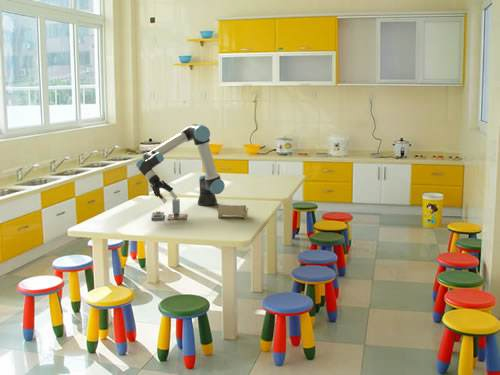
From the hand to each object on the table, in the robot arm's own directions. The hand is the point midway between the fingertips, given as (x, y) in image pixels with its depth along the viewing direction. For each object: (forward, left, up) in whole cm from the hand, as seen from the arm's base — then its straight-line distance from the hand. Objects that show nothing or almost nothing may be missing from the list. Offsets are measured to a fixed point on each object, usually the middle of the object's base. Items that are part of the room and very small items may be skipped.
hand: (171, 200), depth 456 cm
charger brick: (-3, +1, -11) cm, 12 cm away
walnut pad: (-4, +2, -13) cm, 13 cm away
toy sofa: (-43, +4, -13) cm, 45 cm away
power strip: (+10, +1, -13) cm, 16 cm away
